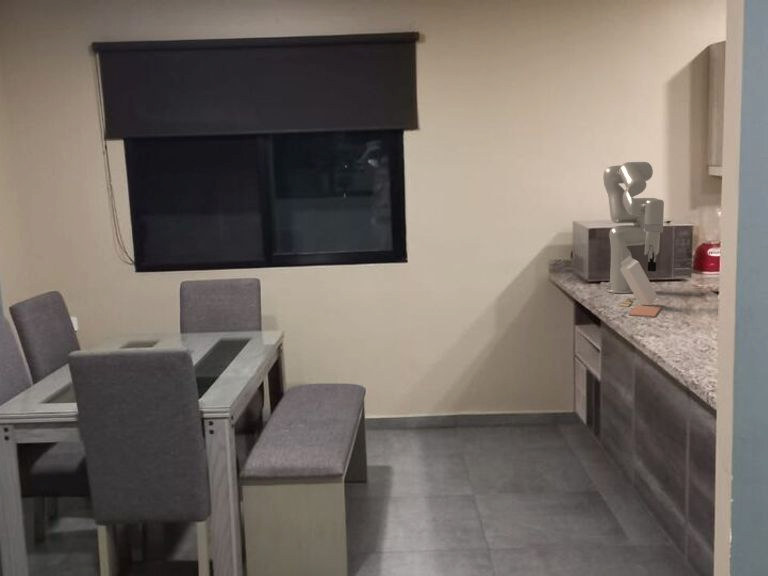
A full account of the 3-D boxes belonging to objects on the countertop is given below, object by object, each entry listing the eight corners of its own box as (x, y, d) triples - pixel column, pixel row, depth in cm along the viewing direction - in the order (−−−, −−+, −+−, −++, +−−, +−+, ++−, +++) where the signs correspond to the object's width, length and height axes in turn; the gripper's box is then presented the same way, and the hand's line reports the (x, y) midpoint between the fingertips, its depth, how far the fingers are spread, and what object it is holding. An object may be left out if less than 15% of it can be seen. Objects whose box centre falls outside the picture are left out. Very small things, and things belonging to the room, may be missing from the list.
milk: (639, 305, 329) (616, 263, 324) (648, 297, 331) (625, 255, 326) (649, 305, 323) (625, 262, 319) (658, 297, 325) (634, 254, 320)
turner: (628, 307, 325) (628, 305, 325) (619, 306, 326) (619, 304, 326) (633, 301, 338) (633, 298, 338) (625, 300, 339) (625, 298, 339)
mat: (628, 315, 308) (628, 314, 307) (636, 306, 325) (636, 305, 325) (654, 317, 303) (654, 315, 303) (661, 308, 321) (661, 306, 320)
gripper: (646, 226, 330) (645, 268, 333) (641, 229, 317) (640, 273, 320) (665, 227, 326) (663, 269, 330) (660, 230, 313) (658, 274, 316)
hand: (651, 270), depth 325 cm, fingers closed
